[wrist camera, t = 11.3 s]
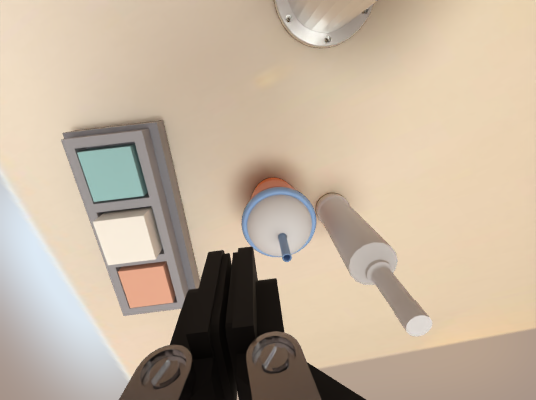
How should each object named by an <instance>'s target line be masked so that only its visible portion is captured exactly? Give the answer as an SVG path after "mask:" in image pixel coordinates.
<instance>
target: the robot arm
mask: <svg viewBox="0 0 536 400" xmlns="http://www.w3.org/2000/svg"><path fill="white" fill-rule="evenodd" d="M376 1H377V0H274V2H275V6H276V10H277V14H278V16H279V18H280V20H281V23H282V24H283V26H284V27H285V29H286V30H287V31H288V32H289V33H290V34H291V35H292V36H293V37H294V38H295V39H296V40H298V41H299V42H301V43H303V44H305V45H308V46H310V47H316V48H328V47H332V46H335V45H338V44H340V43H342V42H344V41H346V40H348V39H349V38H350V37H352V36H353V35H354V34H355V33H356V32H357V31H358V30H360V28H361V27H362V26H363V24H364V23H365V22H366V20H367V18H368V16H369V15H370V13H371V10H372V7H373V4H374V3H375V2H376ZM363 11H364V14H363V13H362V12H363ZM287 18H289V19H290V22H287V21H286V19H287ZM325 39H327V40H328V42H327V43H326V42H325ZM237 392H238V397H239V400H366V399H364V398H363V397H361V396H359V395H358V394H356V393H355V392H353V391H351V390H350V389H348V388H347V387H345V386H344V385H342V384H340V383H339V382H337V381H336V380H334V379H332V378H331V377H329V376H328V375H326V374H325V373H323V372H322V371H320V370H318V369H317V368H315V367H314V366H312V365H310V364H309V363H307V361H306V359H305V356H304V354H303V351H302V349H301V346H300V345H299V343H298V341H297V340H296V339H295V338H294V337H292V336H291V335H289V334H287V333H284V327H283V320H282V313H281V306H280V300H279V293H278V286H277V279H276V278H275V279H267V280H259V281H258V279H257V272H256V264H255V257H254V251H253V247H245V248H238V252H236V253H233V259H232V264H231V258H230V254H229V253H228V254H225V253H224V251H223V250H221V251H213V252H208V255H207V259H206V263H205V266H204V270H203V274H202V277H201V281H200V285H199V288H196V289H189V290H188V292H187V294H186V297H185V300H184V303H183V306H182V309H181V312H180V315H179V318H178V321H177V325H176V328H175V331H174V334H173V337H172V340H171V343H170V345H168V346H164V347H162V348H159V349H157V350H155V351H154V352H152V353H150V354H149V355H148V356H147V357H146V358H145V359H144V360H143V361H142V362H141V363H140V365H139V366H138V367H137V369H136V371H135V372H134V374H133V376H132V378H131V379H130V381H129V383H128V385H127V386H126V388H125V390H124V392H123V393H122V395H121V397H120V398H119V400H237Z"/></svg>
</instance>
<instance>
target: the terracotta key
mask: <svg viewBox="0 0 536 400" xmlns="http://www.w3.org/2000/svg"><path fill="white" fill-rule="evenodd" d="M118 274H119V277H120V280H121V283H122V286H123V289H124V291H125V294H126V297H127V300H128V303H129V306H130V308H135V307H143V306H151V305H159V304H166V303H173V302H174V299H175V296H176V295H175V291H174V287H173V284H172V280H171V276H170V272H169V269H168V265H167V261H163V262H155V263H147V264H139V265H131V266H123V267H121V268H120V270H119V271H118Z"/></svg>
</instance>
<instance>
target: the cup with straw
mask: <svg viewBox="0 0 536 400" xmlns="http://www.w3.org/2000/svg"><path fill="white" fill-rule="evenodd" d="M315 228H316V214H315V211H314V208H313V206H312V204H311V203H310V201H309V200H308V199H307V198H306V197H305V196H304V195H303V194H302V193H300V192H298V191H296V190H295V189H294V188H293V187H292V186H291V185H289V184H288V183H287V182H285V181H284V180H282V179H279V178H268V179H265V180H263V181H261V182H260V183H259V184H258V185H257V186H256V188H255V190H254V192H253V194H252V196H251V199H250V201H249V203H248V204H247V206H246V207H245V209H244V212H243V216H242V230H243V234H244V236H245V238H246V240H247V242H248V243H249V244H250V245H251V246H252V247H253V248H254V249H255V250H256V251H258V252H260V253H262V254H264V255H267V256H271V257H282V259H283V261H285V262H289V261H290V260H291V259H292V257H291V255H292V254H294V253H296V252H298V251H300V250H301V249H303V248H304V247H305V246H306V245H307V244H308V243H309V241H310V240H311V238H312V236H313V234H314V232H315Z"/></svg>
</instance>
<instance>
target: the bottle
mask: <svg viewBox="0 0 536 400" xmlns="http://www.w3.org/2000/svg"><path fill="white" fill-rule="evenodd" d="M316 212H317V216H318V219H319V220H320V221H321V222H322V223H323V224H324V226H325V228H326V230H327V231H328V233H329V235H330V237H331V239H332V241H333V243H334V245H335V247H336V248H337V250H338V252H339V254H340V256H341V258H342V260H343V262H344V263H345V265H346V267H347V269H348V271H349V273H350V275H351V276H352V277H353V278H354V279H355V281H357V282H359V283H361V284H364V285H374V284H375V285H376V286H377V287H378V289H379V290H380V292H381V293H382V295H383V296H384V298H385V299H386V301H387V302H388V304H389V305H390V307H391V308H392V309H393V311H394V313H395V315H396V317H397V318H398V320H399V321H400V323H401V324H402V326H403V327H404V328H405V330H406V331H407V333H408V334H409V335H412V336H421V335H424V334H425V333H427V332H428V331H429V330H430V329H431V327H432V320H431V319H430V318H429V316H428V315H427V314H426V313H425V311H424V310H423V309H422V308H421V307H420V305H419V304H418V303H417V302H416V300H414V299H413V298H412V297H411V295H410V294H409V293H408V292H407V290H406V289H405V288H404V287H403V285H402V284H401V283H400V282H399V280H398V279H397V278H396V277H395V276H394V274H393V272H394V271H395V269H396V265H397V262H398V260H397V255H396V252H395V251H394V250H393V248H392V247H391V246H390V245H389V244H388V243H387V242H386V241H385V240H384V239H383V238H382V237H381V236H380V235H379V234H378V233H377V232H376V231H375V230H374V229H373V228H372V227H371V226H370V225H369V224H368V223H367V222H366V221H365V220H364V219H363V218H362V217H361V216H360V215H359V214H358V213H357V212H356V211H355V210H354V209H353V208H351V207H350V205H349V203H348V201H347V200H346V199H345V198H344V197H343V196H341V195H338V194H333V193H330V194H327V195H324V196H323V197H322V198H320V200H319V201H318V203H317V207H316Z"/></svg>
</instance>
